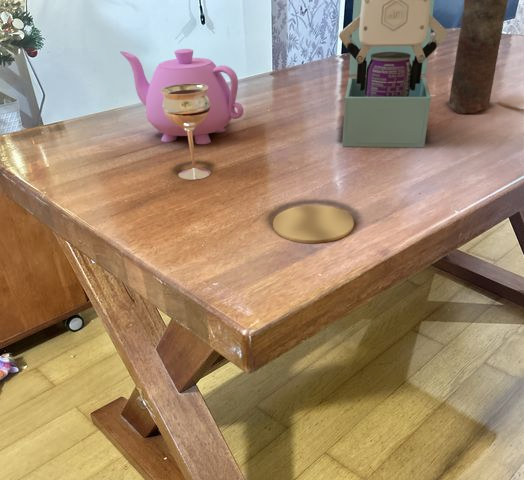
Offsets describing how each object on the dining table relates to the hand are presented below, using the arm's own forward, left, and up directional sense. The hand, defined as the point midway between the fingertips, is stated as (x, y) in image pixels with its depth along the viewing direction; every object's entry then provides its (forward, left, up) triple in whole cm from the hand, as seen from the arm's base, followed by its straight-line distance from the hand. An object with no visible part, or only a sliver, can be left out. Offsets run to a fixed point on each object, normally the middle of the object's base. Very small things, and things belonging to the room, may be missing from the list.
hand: (387, 87), depth 88 cm
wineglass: (+34, +2, -8) cm, 35 cm away
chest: (-1, -2, -8) cm, 8 cm away
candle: (-23, -8, -8) cm, 26 cm away
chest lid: (-5, -9, +7) cm, 13 cm away
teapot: (+30, -18, -8) cm, 36 cm away
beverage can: (0, 0, -7) cm, 7 cm away
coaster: (+25, +26, -8) cm, 37 cm away
